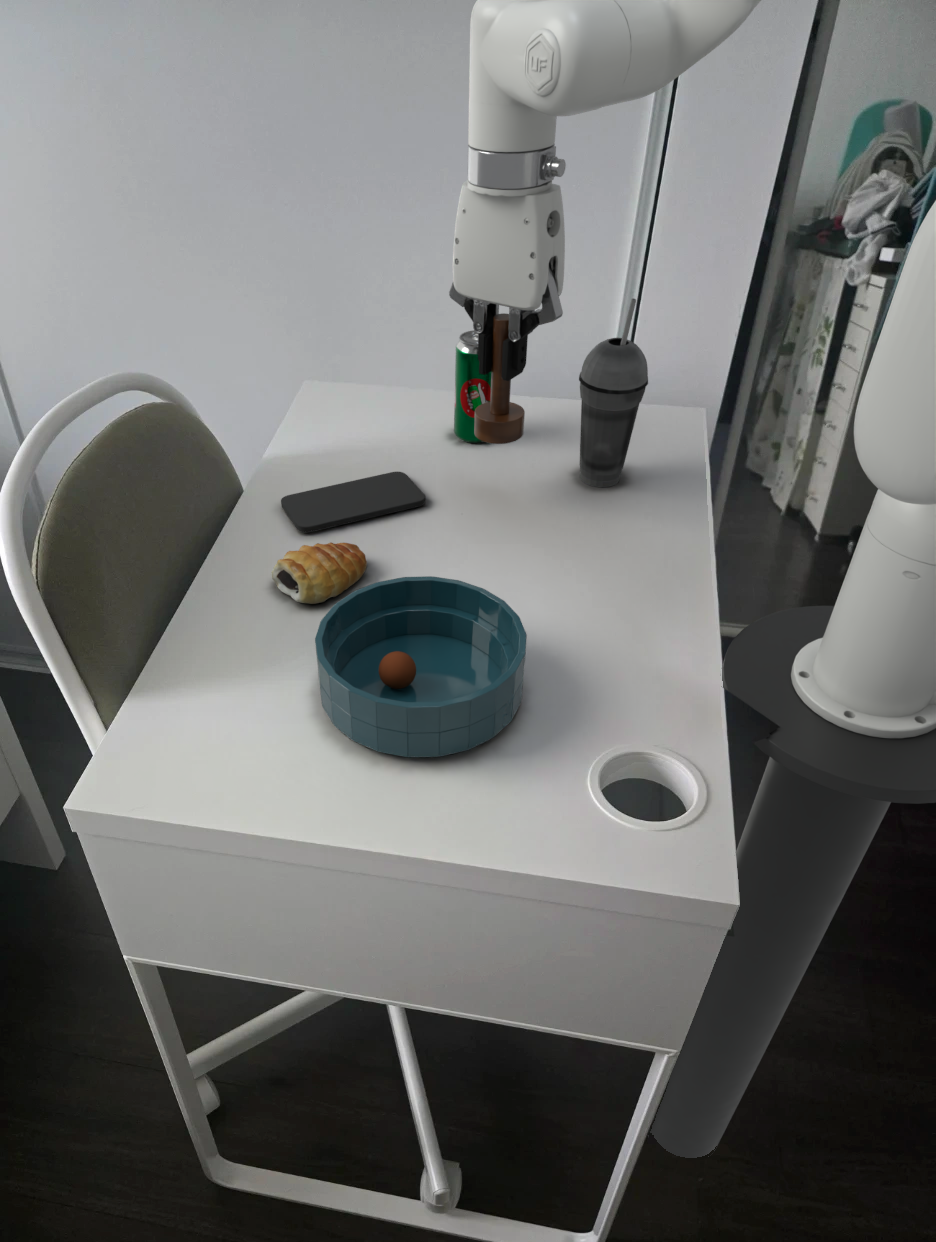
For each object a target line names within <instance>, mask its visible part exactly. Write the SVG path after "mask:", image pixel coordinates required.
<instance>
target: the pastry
mask: <svg viewBox="0 0 936 1242" xmlns="http://www.w3.org/2000/svg"><path fill="white" fill-rule="evenodd" d="M367 566H368V561H367V557H366V554H365V553H364V552H363V551H362V550H361V549H360V547H359V546H358V545H357V544H354V543H349V542H337V543H334V542H330V541H329V542H328V543H315V544H314V545H308V544H304V545H302V546H300V547H299V549H298V550H288V551H287V552H286V553H285V554H284V556H283V557H282V558H279V559H278V560H277V561H276V563H275V565H274V566H273V569H272V571H271V579H272V580H273V581H274V583H275V584H276V587H277V589H278V590H279V591H280V592H282V593H284V594H286V595H287V596H289V597H291V599H293V600H294V601H295V602H297V603H301V604H309V605H317V604H319V603H325V602H326V600H328V599H330V598H332V597H333V598H335V597H337V596H338V595H340V594H341V595H342V593H343V592H344V591H345V590H348V589H349V588H350V587H351V586H353V585H354V584H355V583H357V582H358V581H359V580H360V579H361V578H362V577H363V575H364V574H365V572H366V570H367Z"/></svg>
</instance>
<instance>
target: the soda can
mask: <svg viewBox="0 0 936 1242" xmlns="http://www.w3.org/2000/svg"><path fill="white" fill-rule="evenodd" d="M478 336H479V333H476V332H475V331H474V329H473V330H468V331H465V332H462V333H461V334H460V335H459V337H458V341H457V343H456V344H455V362H454V364H455V365H454V403H453V404H454V405H453V407H454V408H453V409H454V411H453V433H454V435H455V436H456V437H457V438H458V439H459V440H460V441H463V442H465V443H469V444H470V443H471V444H477V443H478V444H479V443H485V442H484V441H481V440H480V439H478V438H477V437H476V436H475V434H474V422H475V409H476V408H477V407H478V406H479V405H481V404H484V403H487V402H490V400H491V373H492V371H491V372H489V373H488V374H486V375H483V374H480V373H479V360H478Z"/></svg>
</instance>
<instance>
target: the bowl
mask: <svg viewBox="0 0 936 1242" xmlns="http://www.w3.org/2000/svg"><path fill="white" fill-rule="evenodd" d="M320 620H321V621H320V622H319V625H318V628H317V631H316V635H315V637H314V643H315V645H314V646H315V654H316V655H315V656H316V664H317V672H318V673H317V675H318V683H319V692H320V699H321V706H322V708H323V710H324V712H325V713H326V715H327V717H328V719H330V721H331V723H332V724H333V726H334V727H335V728H336V729H338V731H340V732H341V733H342V734H344V735H345V736H346V737H348V739H350V740H351V741H353V742H355V743H358V744H360V745H362V746H363V747H366V748H369V749H371V750H373V751H375V752H379V753H383V754H387V755H393V756H398V757H404V758H438V757H443V756H444V757H445V756H448V755H452V754H453V755H454V754H458V753H461V752H462V753H463V752H466V751H469V750H472V749H473V748H476V747H478V746H480V745H482V744H484V743H486V742H488V741H490V740H493V739H494V738H495V737H496V736H497V735H498V734H499V733H500V732H501V731H502V730H503V729H505V728H506V727H507V726H508V725H509V724H510V723H511V722H512V721H513V719H514V717H515V715H516V713H517V711H518V710H519V708H520V705H521V704H522V697H523V686H524V675H525V664H526V654H527V636H528V635H527V631H526V629H525V627H524V624H523V622H522V619H521V618H520V616H519V615H518V613H516V611H514V609H513V608H512V607H511V606H510V605H509V604H508V603H507V602H506V601H505V600H504V599H502V598H500V597H499V596H497V595H496V594H494V593H492V592H490V591H489V590H487V589H485V588H483V587H481V586H477V585H475V584H472V583H468V582H465V581H463V580H459V579H453V578H447V577H439V576H430V575H429V576H425V575H424V576H402V577H397V578H391V579H386V580H381V581H377V582H374V583H371V584H369V585H366V586H363V587H361V588H358V589H356V590H354V591H352V592H350V593H349V594H347V595H346V596H344V597H343V598H342V599H340V600H338V601H337V602H336V603H335V604H333V606H331V608H330V609H329V610H328V611H327V613H325V615H324V616H323V617H322V619H320ZM395 651H400V652H404V653H406V654H408V655H409V656H410V657H411V658H412V659H413V660H414V662H415V665H416V675H415V678H414V680H413V681H412V683H411V684H410V685H408V686H407V687H405V688H402V689H393V688H390V687H388V686H387V685H385V684H384V683H383V682H382V680H381V678H380V676H379V665H380V662H381V660H382V659H383V658H384V657H385V656H386V655H387V654H389V653H391V652H395Z"/></svg>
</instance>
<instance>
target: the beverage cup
mask: <svg viewBox="0 0 936 1242" xmlns="http://www.w3.org/2000/svg"><path fill="white" fill-rule="evenodd" d="M636 303H637V299H636V298H635V297H634V298H631V299H630V303H629V306H628V310H627V315H626V320H625V323H624V327H623V332H622V336H621V337H611V338H607V339H604V340H602V341H601V342H599V343H598V344H596V345H595V346H594V347H593V348H592V349H591V350H590V351H589V352H588V354H587V355H586V357H585V359H584V361H583V363H582V366H581V371H580V372H579V375H578V381H579V393H580V399H581V403H580V405H581V406H580V407H581V409H580V436H579V437H580V439H579V442H580V443H579V479H580V480H581V482H583V483H584V484H585V485H588V486H591V487H595V488H608V487H609V488H610V487H613V486H615V485H617V484H618V483H619V482H620V478H621V475H622V473H623V472H622V471H623V469H624V466H625V462H626V460H627V459H626V458H627V454H628V450H629V446H630V443H631V438H632V435H633V430H634V426H635V423H636V419H637V414H638V411H639V407H640V404H641V402H642V400H643V398H644V394H645V392H646V388H647V386H648V385H649V376H648V375H649V374H648V373H649V370H648V369H649V368H648V361H647V359H646V356H645V354H644V352H643V351H642V349H641V348H640V347H639V346H638V344H636V343H635V342H634V341H632V340H630V339H628V337H629V332H630V329H631V324H632V320H633V316H634V312H635V307H636Z"/></svg>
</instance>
